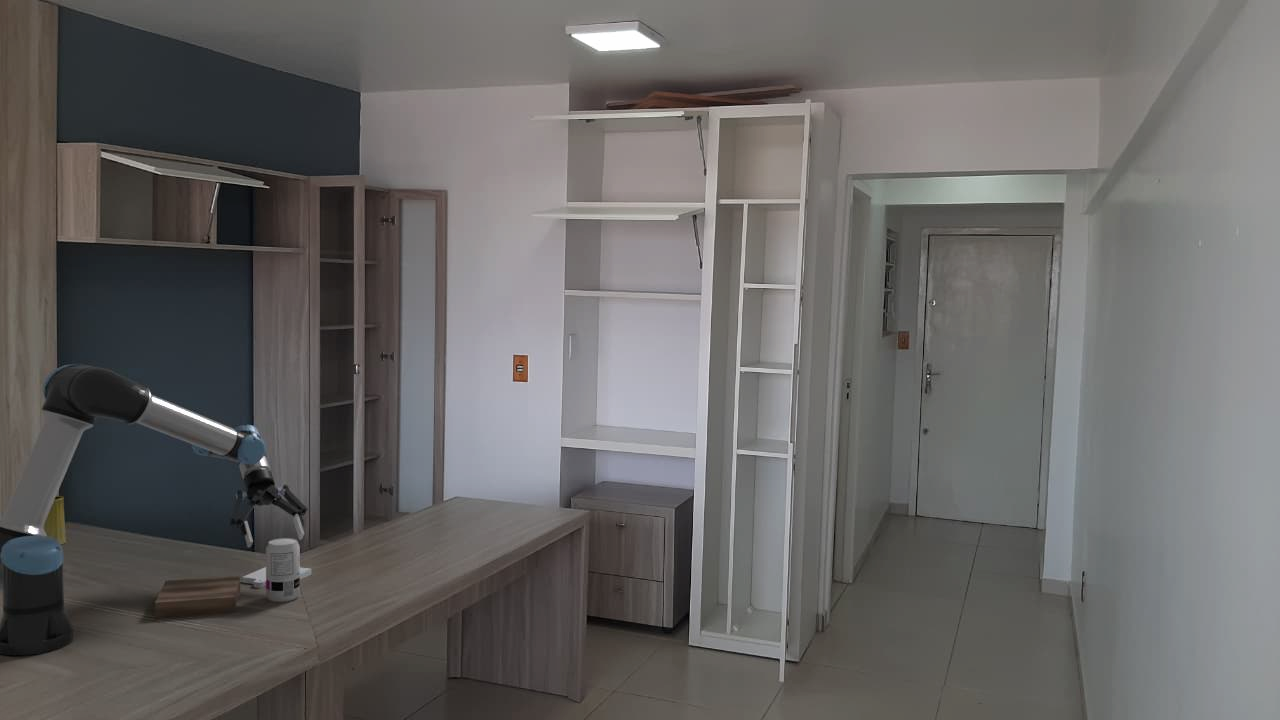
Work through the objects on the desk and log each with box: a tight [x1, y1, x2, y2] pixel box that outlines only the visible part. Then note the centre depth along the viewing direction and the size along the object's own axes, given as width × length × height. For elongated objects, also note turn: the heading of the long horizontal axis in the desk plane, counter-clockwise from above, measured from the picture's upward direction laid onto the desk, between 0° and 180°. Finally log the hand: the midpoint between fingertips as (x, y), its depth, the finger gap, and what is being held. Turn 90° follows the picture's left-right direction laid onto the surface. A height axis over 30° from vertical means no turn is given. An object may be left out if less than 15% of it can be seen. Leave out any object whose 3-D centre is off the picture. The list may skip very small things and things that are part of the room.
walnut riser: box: [154, 575, 241, 619], centre depth 248 cm, size 18×18×4 cm
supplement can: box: [265, 537, 301, 603], centre depth 254 cm, size 8×8×15 cm
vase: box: [43, 495, 67, 545], centre depth 299 cm, size 6×6×14 cm
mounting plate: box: [241, 566, 313, 589], centre depth 271 cm, size 18×13×2 cm
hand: (276, 540), depth 260 cm, fingers open, 13 cm apart
